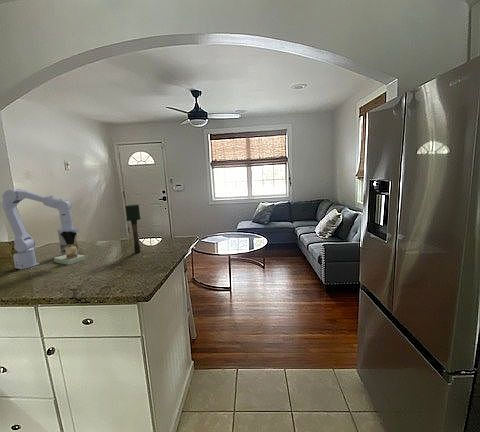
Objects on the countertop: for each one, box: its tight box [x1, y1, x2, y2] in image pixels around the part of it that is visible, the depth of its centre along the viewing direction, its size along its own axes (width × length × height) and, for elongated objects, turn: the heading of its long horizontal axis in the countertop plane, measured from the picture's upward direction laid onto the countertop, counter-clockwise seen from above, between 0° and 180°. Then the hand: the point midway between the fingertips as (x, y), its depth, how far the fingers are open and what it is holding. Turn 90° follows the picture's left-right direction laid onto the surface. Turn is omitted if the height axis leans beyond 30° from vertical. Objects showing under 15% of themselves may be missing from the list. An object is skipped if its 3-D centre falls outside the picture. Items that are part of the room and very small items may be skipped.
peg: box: [65, 246, 78, 259], centre depth 164 cm, size 6×6×8 cm
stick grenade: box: [124, 204, 142, 254], centre depth 174 cm, size 8×9×30 cm
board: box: [53, 253, 87, 266], centre depth 166 cm, size 10×15×2 cm, turn 61°
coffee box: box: [57, 231, 80, 256], centre depth 180 cm, size 9×6×16 cm
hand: (70, 244), depth 163 cm, fingers closed
